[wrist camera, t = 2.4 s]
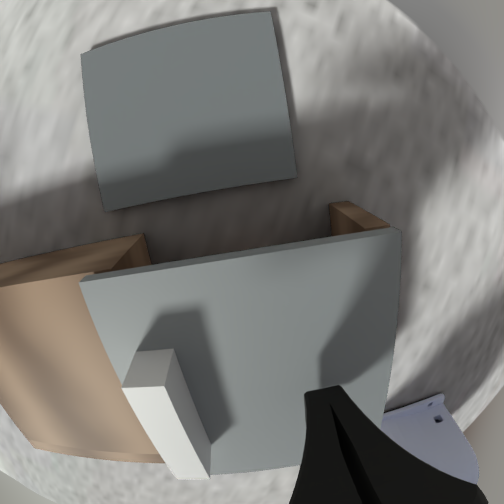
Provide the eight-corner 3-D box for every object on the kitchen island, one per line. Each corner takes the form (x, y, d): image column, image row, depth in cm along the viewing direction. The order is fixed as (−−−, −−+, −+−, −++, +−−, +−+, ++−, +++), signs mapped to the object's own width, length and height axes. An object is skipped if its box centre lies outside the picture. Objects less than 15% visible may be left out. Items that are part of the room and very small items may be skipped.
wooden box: (348, 201, 15) (389, 224, 10) (349, 385, 19) (371, 434, 15) (-15, 267, 15) (-57, 297, 10) (55, 407, 19) (34, 448, 14)
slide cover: (393, 226, 10) (433, 251, 8) (372, 438, 14) (387, 473, 12) (85, 275, 10) (51, 310, 8) (176, 467, 14) (172, 504, 12)
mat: (269, 16, 12) (270, 11, 11) (294, 176, 14) (297, 177, 14) (85, 56, 12) (80, 54, 11) (109, 209, 14) (104, 212, 14)
